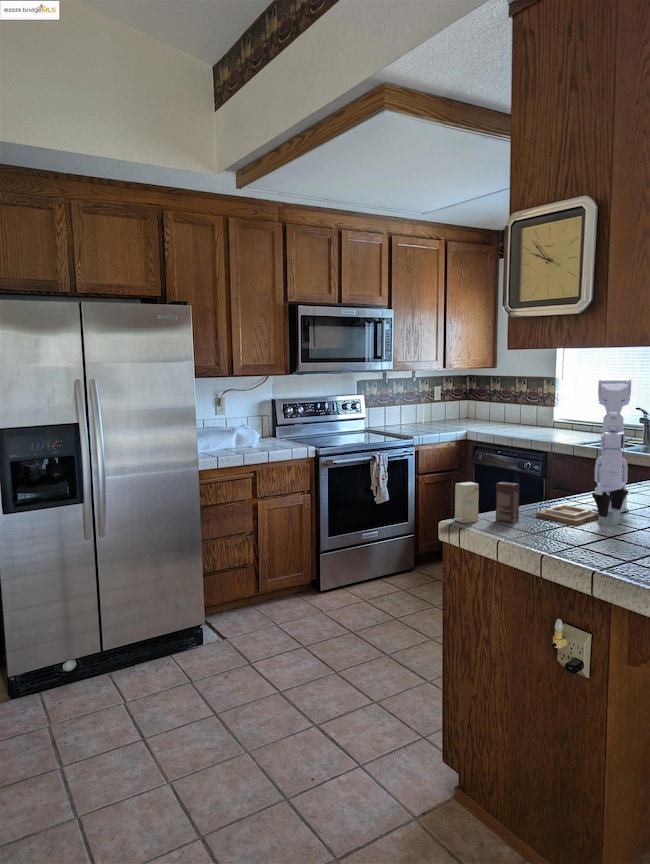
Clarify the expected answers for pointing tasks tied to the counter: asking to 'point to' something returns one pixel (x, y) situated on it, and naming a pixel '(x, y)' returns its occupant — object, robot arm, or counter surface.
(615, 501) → the robot arm
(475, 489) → the skincare box
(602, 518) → the block
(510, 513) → the box
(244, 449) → the counter surface
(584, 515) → the base board
